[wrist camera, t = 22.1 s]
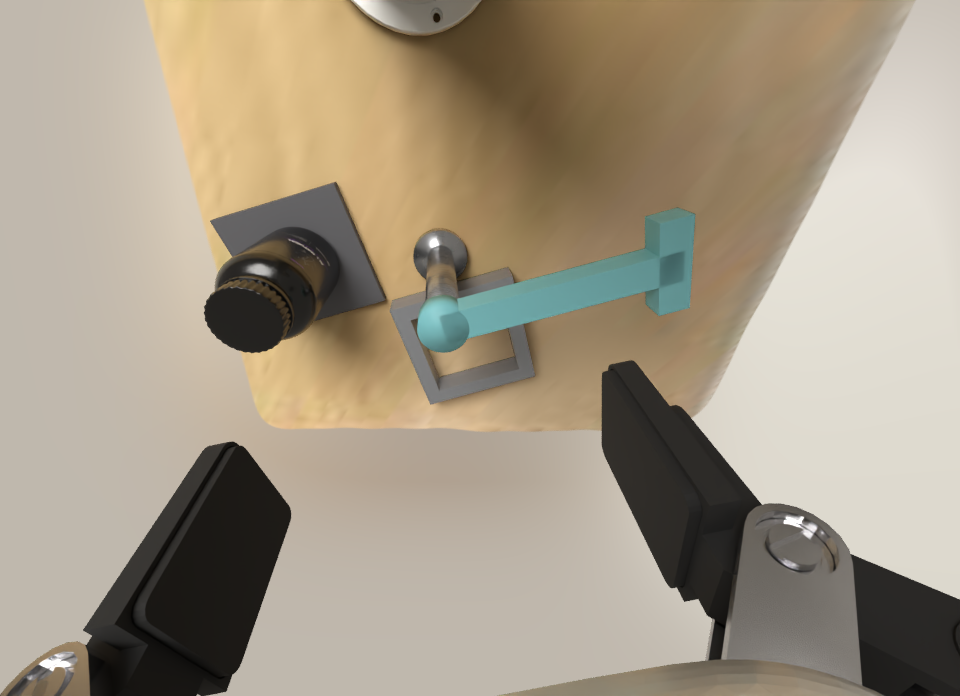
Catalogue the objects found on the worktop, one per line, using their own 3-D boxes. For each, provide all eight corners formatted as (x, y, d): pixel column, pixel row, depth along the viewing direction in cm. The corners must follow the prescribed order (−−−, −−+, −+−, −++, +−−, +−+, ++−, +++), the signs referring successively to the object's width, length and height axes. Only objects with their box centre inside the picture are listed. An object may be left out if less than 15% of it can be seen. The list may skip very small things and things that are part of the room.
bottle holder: (392, 300, 38) (389, 311, 36) (508, 267, 37) (512, 276, 35) (430, 390, 44) (430, 404, 42) (530, 363, 44) (535, 376, 42)
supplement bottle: (340, 229, 33) (299, 277, 23) (342, 300, 37) (307, 370, 26) (255, 219, 32) (172, 265, 22) (266, 293, 35) (198, 364, 25)
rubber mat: (214, 218, 33) (209, 221, 32) (335, 182, 32) (333, 183, 31) (282, 327, 38) (279, 330, 38) (385, 297, 38) (384, 300, 37)
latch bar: (433, 360, 27) (433, 375, 25) (404, 282, 23) (401, 293, 22) (674, 296, 26) (689, 307, 24) (677, 207, 23) (695, 214, 21)
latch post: (406, 237, 35) (392, 292, 24) (458, 221, 35) (469, 270, 24) (424, 286, 38) (419, 355, 27) (472, 272, 37) (488, 336, 26)
